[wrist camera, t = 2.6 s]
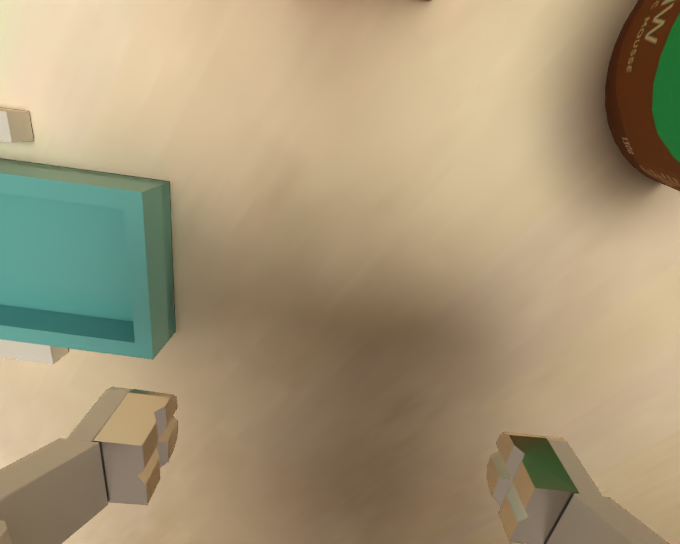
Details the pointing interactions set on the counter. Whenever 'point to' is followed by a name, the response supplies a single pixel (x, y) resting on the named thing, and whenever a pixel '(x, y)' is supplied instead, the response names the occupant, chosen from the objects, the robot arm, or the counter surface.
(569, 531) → the robot arm
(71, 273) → the teal tray
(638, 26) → the food container
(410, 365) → the counter surface
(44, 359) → the overhang dock
